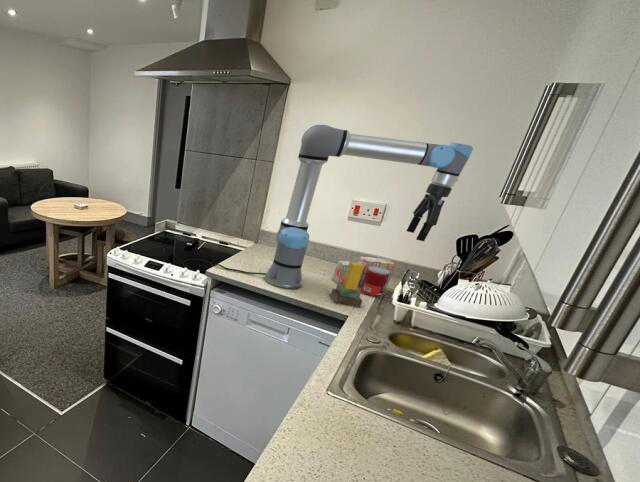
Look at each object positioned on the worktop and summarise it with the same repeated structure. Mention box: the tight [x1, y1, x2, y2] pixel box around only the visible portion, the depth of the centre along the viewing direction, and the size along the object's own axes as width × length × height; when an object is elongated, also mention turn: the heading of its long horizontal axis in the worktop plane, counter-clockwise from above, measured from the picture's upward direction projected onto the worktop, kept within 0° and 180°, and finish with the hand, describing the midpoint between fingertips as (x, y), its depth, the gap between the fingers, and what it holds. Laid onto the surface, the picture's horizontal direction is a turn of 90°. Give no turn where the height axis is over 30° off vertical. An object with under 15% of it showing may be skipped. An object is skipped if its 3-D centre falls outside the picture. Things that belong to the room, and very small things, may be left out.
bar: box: [343, 261, 364, 290], centre depth 155 cm, size 4×4×10 cm
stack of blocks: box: [332, 256, 396, 290], centre depth 176 cm, size 21×6×12 cm, turn 84°
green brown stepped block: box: [330, 283, 363, 308], centre depth 158 cm, size 9×9×6 cm
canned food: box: [360, 267, 390, 298], centre depth 167 cm, size 8×8×11 cm
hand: (414, 236), depth 162 cm, fingers open, 13 cm apart
